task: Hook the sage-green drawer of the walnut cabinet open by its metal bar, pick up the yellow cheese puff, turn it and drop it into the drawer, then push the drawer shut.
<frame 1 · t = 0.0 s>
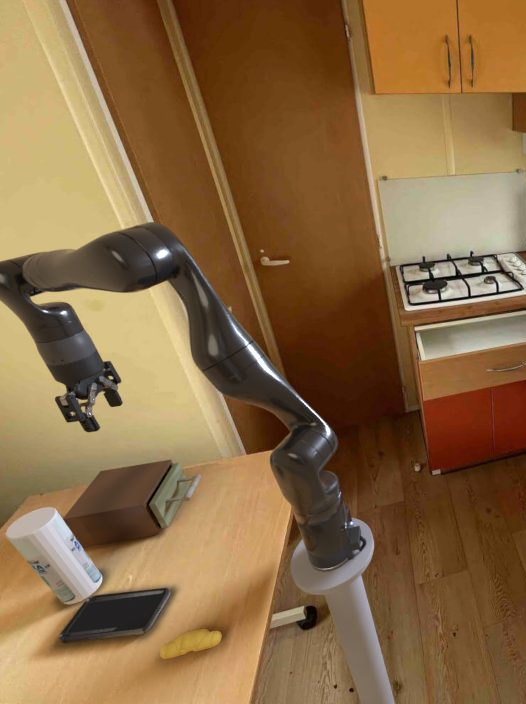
hand: (106, 417, 91), 27 cm above the table, tool pointing down, fingers open, 8 cm apart
phone: (118, 616, 80), on the table
yellow cheese puff: (195, 644, 76), on the table
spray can: (83, 589, 85), on the table
cabinet: (137, 515, 100), on the table
drawer: (152, 497, 99), point 5 cm above the table, slide at 0.5 cm
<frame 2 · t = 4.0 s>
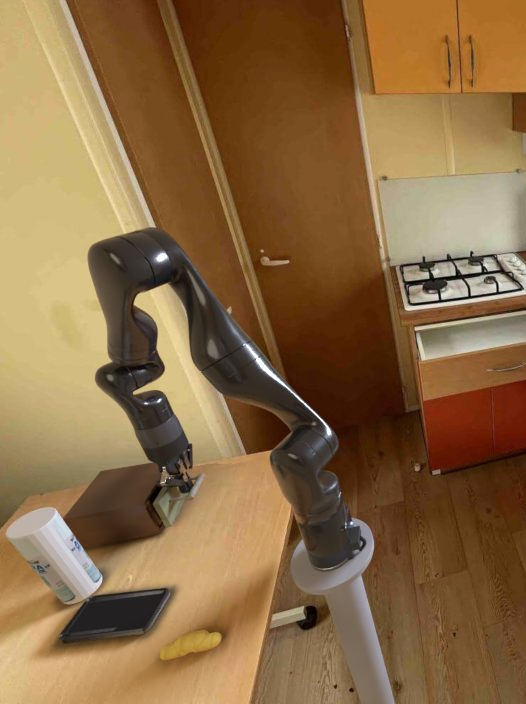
hand: (188, 490, 100), 5 cm above the table, tool pointing down, fingers closed
yellow cheese puff: (195, 644, 76), on the table, tilted 12°
drawer: (156, 496, 99), point 5 cm above the table, slide at 1.2 cm, touching gripper
everything else where it was.
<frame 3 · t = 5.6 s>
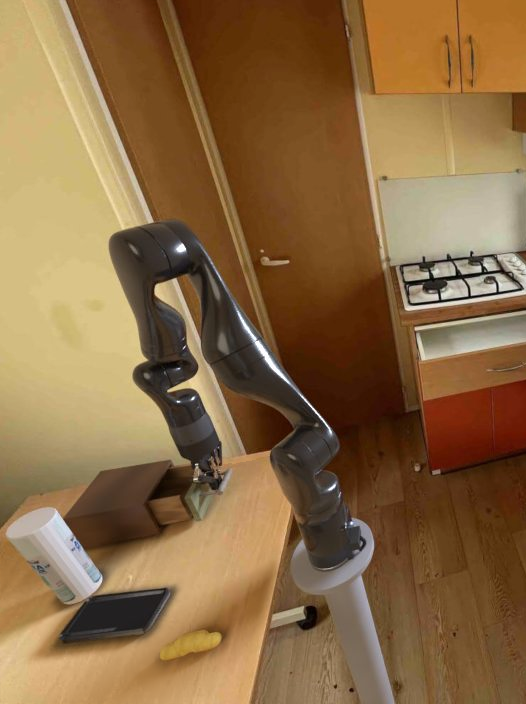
hand: (218, 487, 102), 4 cm above the table, tool pointing down, fingers closed
drawer: (186, 491, 100), point 5 cm above the table, slide at 7.4 cm, touching gripper
everything else where it was.
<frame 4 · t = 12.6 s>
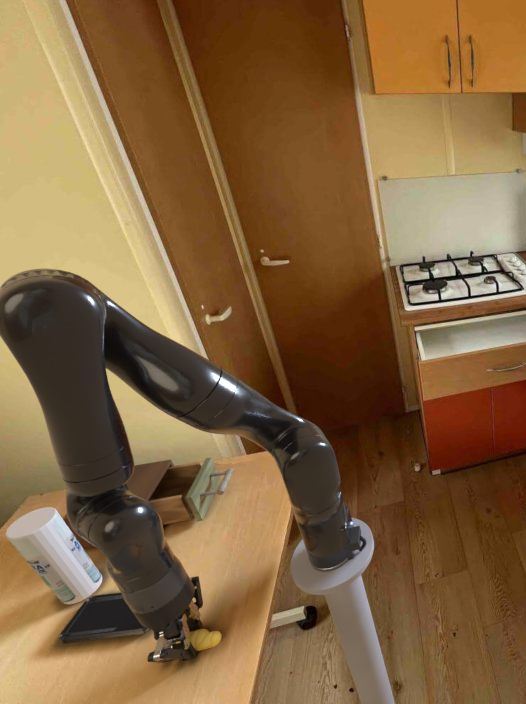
hand: (193, 645, 76), 0 cm above the table, tool pointing down, fingers closed on yellow cheese puff, 3 cm apart
yellow cheese puff: (195, 643, 76), on the table, tilted 12°, touching gripper
drawer: (186, 491, 100), point 5 cm above the table, slide at 7.5 cm
everything else where it was.
when the fingers open (8 cm above the table, at t = 21.3 s): yellow cheese puff drops 6 cm, resting on drawer.
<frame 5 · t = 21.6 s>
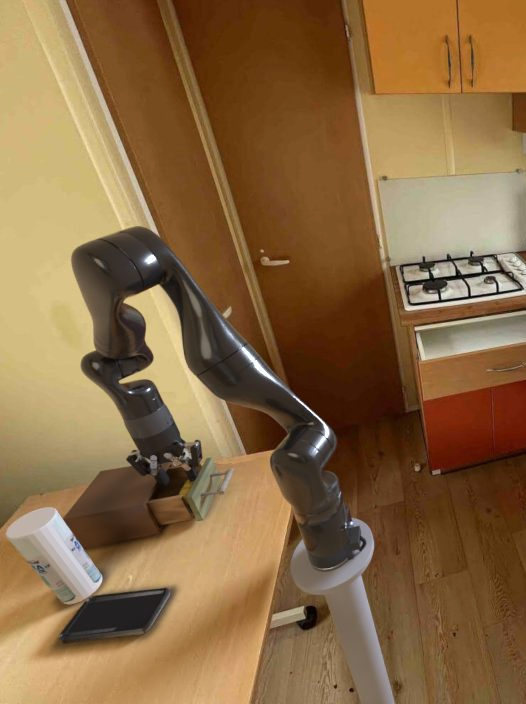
hand: (180, 481, 99), 8 cm above the table, tool pointing down, fingers open, 5 cm apart
yellow cheese puff: (190, 498, 101), point 2 cm above the table, tilted 15°, touching drawer
drawer: (187, 491, 100), point 5 cm above the table, slide at 7.6 cm, touching yellow cheese puff, gripper
everything else where it was.
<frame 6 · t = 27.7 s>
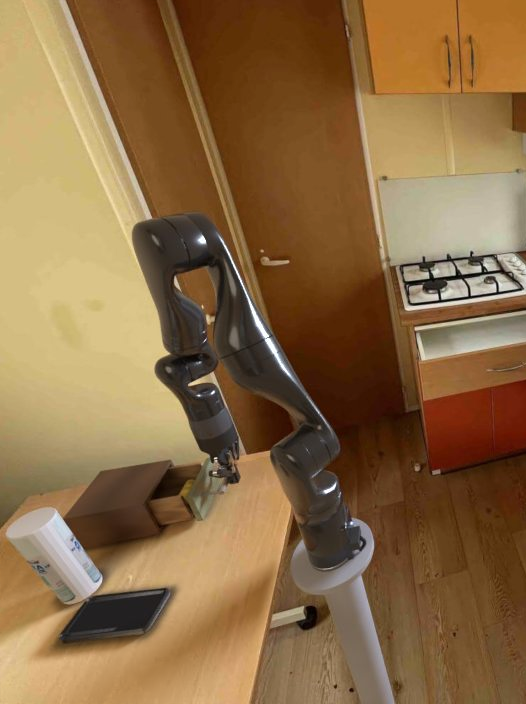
hand: (235, 481, 103), 5 cm above the table, tool pointing down, fingers closed
nothing on the table moved.
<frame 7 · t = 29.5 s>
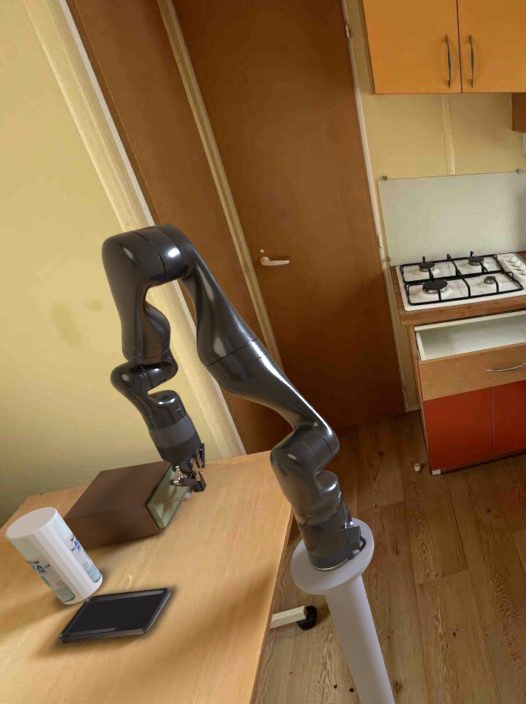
hand: (200, 489, 101), 5 cm above the table, tool pointing down, fingers closed
yellow cheese puff: (154, 505, 100), point 2 cm above the table, tilted 14°, touching drawer
drawer: (150, 497, 99), point 5 cm above the table, slide at 0.1 cm, touching yellow cheese puff, gripper
everything else where it was.
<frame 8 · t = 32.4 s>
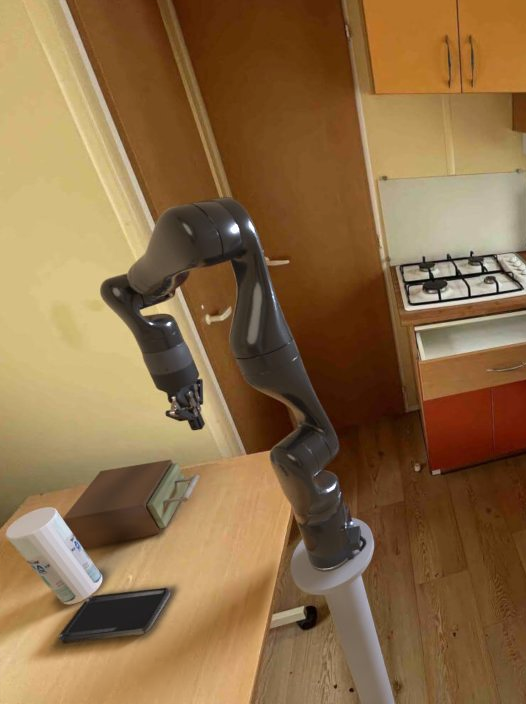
hand: (198, 427, 95), 22 cm above the table, tool pointing down, fingers closed
drawer: (150, 497, 99), point 5 cm above the table, slide at 0.1 cm, touching yellow cheese puff
everything else where it was.
at the end: drawer pulled out 8.8 cm at the most during the clip, back to where it started at the end; yellow cheese puff inside the target area in the cabinet (4.1 cm from its centre), point 2.2 cm above the cabinet's base; drawer slide at 0.1 cm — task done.
